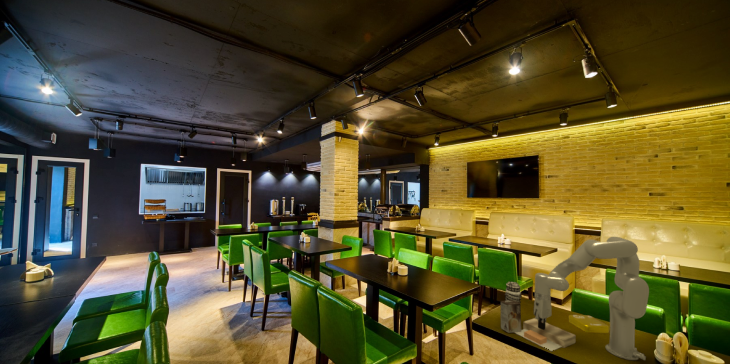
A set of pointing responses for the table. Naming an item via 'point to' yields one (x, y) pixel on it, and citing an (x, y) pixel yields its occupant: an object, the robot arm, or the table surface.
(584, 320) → the element tile
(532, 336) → the orange rectangular block
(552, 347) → the mat
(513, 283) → the decorative candle
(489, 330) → the table surface
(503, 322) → the coffee box
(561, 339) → the beige brown rectangular block
